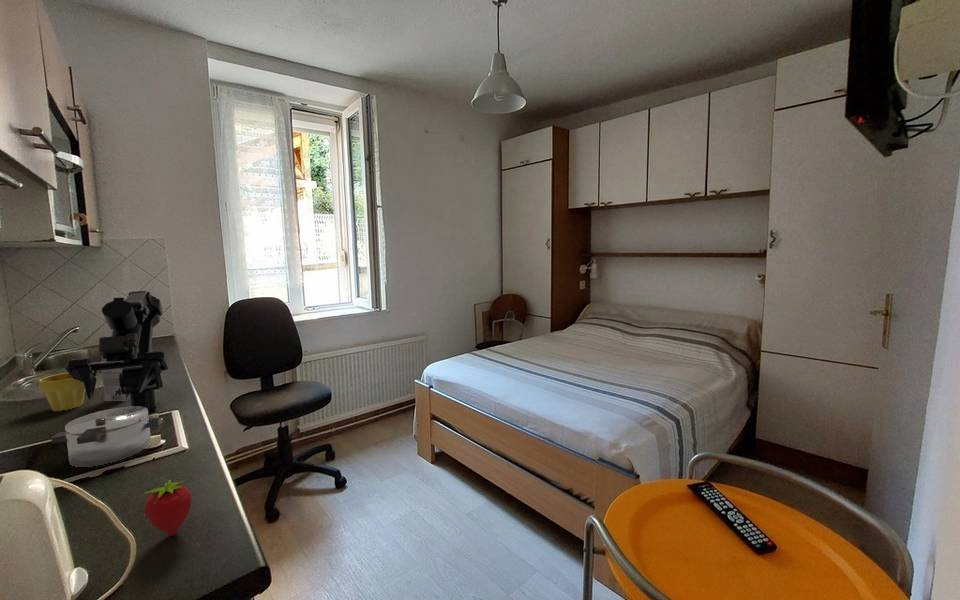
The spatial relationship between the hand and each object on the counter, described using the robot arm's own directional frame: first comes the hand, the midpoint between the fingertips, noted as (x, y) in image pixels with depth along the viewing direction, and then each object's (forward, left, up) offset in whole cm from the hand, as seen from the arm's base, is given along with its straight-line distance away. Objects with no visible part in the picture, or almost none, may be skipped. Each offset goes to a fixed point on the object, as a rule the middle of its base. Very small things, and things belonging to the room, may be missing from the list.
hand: (114, 395), depth 97 cm
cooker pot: (+5, 0, -12) cm, 13 cm away
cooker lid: (+8, 0, -5) cm, 9 cm away
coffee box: (-43, -10, -12) cm, 45 cm away
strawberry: (+47, +19, -12) cm, 52 cm away
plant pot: (-40, -23, -12) cm, 47 cm away
